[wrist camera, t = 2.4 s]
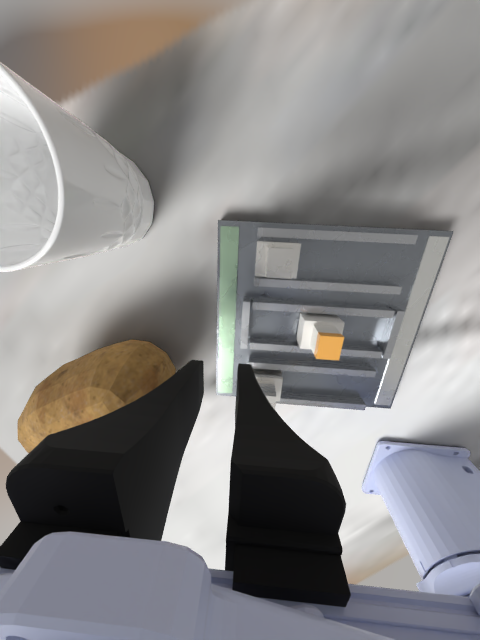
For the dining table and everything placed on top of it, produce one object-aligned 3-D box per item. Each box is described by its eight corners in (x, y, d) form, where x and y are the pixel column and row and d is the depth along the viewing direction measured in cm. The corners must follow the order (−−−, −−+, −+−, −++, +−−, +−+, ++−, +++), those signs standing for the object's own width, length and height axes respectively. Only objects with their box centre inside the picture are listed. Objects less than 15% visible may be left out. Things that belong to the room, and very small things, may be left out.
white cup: (55, 224, 19) (-143, 215, 9) (76, 118, 16) (-170, -42, 7) (143, 270, 20) (43, 303, 10) (177, 176, 17) (84, 107, 8)
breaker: (336, 315, 19) (355, 333, 15) (331, 341, 20) (348, 364, 16) (300, 312, 19) (310, 331, 15) (296, 338, 20) (305, 361, 16)
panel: (442, 231, 17) (509, 230, 13) (385, 401, 23) (416, 442, 18) (220, 220, 18) (208, 216, 13) (217, 388, 24) (209, 424, 19)
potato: (49, 376, 24) (-65, 455, 16) (154, 300, 21) (80, 348, 12) (106, 429, 27) (34, 524, 18) (211, 369, 23) (184, 452, 14)
